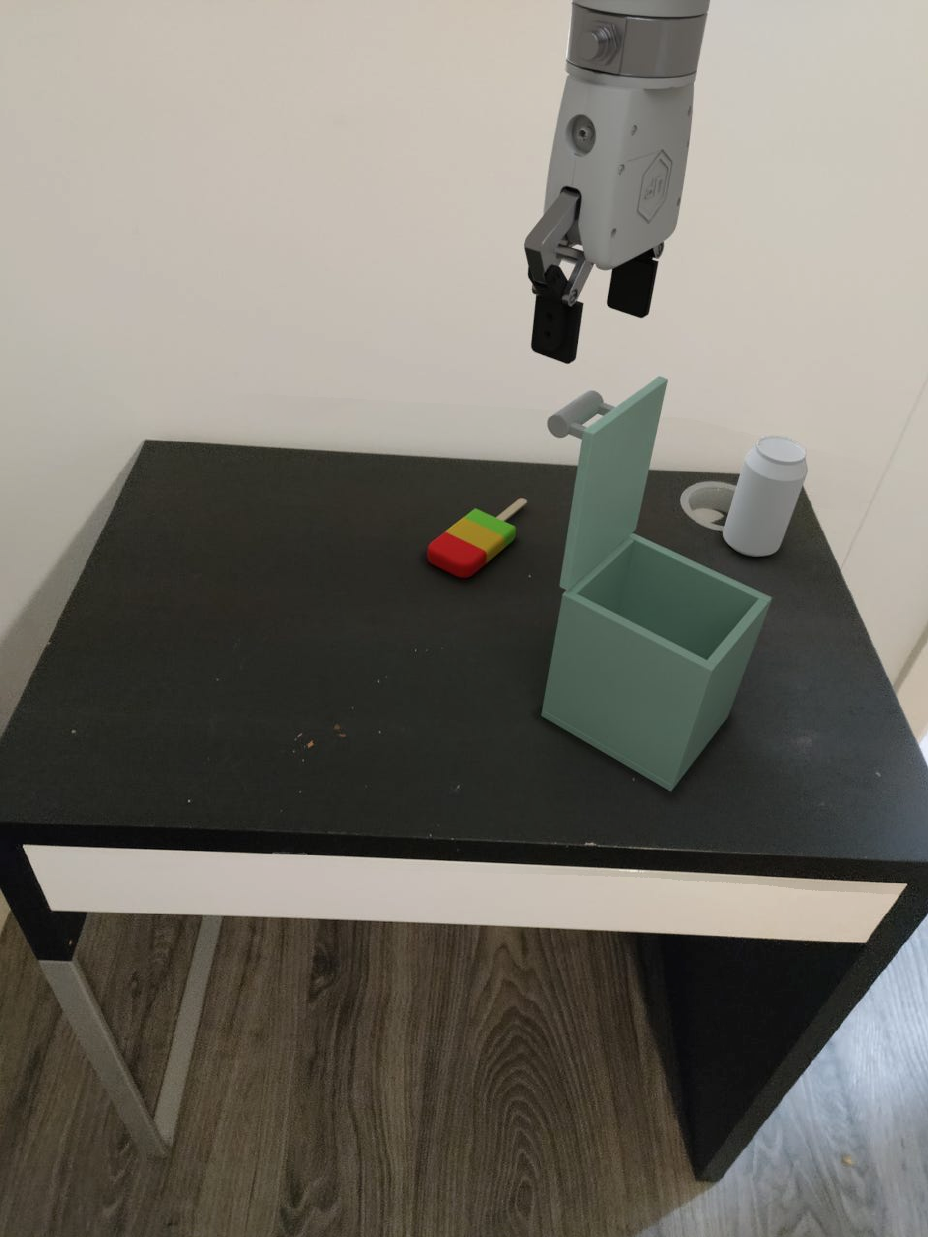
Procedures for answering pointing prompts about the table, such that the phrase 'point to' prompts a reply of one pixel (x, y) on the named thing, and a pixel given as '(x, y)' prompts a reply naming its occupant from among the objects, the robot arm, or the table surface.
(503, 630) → the table surface
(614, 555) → the pale green hollow box
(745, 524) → the beverage can
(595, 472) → the lid
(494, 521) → the popsicle
